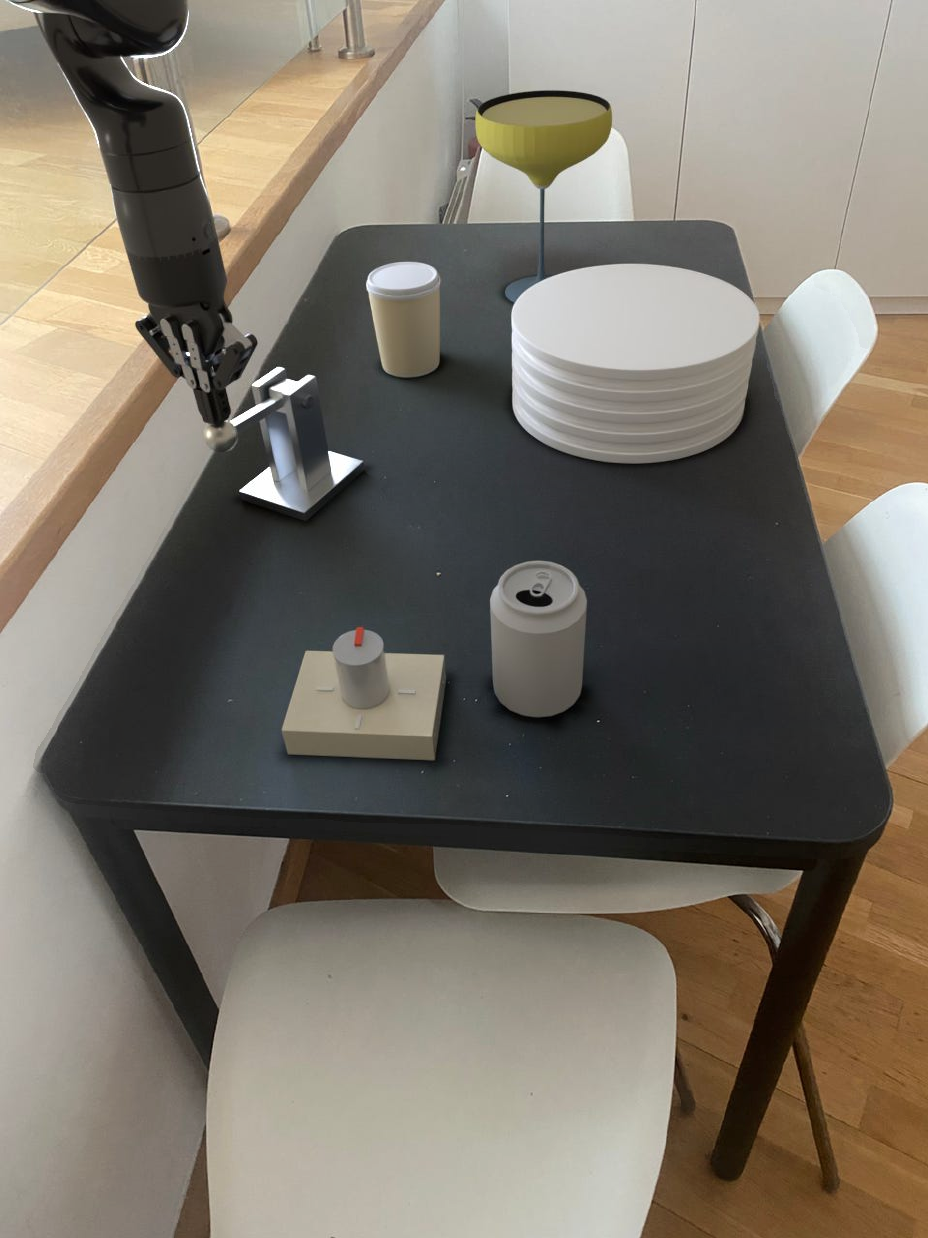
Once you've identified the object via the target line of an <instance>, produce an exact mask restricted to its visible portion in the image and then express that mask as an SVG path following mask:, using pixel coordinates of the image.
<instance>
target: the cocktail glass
mask: <svg viewBox="0 0 928 1238" xmlns="http://www.w3.org/2000/svg"><path fill="white" fill-rule="evenodd" d="M474 124H475V125H474V127H475V136H476V140H477V142H478V144H479V145H480V147H481V148H482V149H483V150H484V151H485V152H486V153H487V154H488V155H489V156H490V157H492V158H493V159H495V160H496V161H499V162H501V163H503V164H504V165H507V166H508V167H511V168H513V169H515V170H518V171H519V172H521V173H523V174H524V175H526V176H527V177H528V179H529V180H530V182H531V183H532V184H533V186H534V187H535V188H536V189H538V190H539V239H538V241H539V242H538V247H539V248H538V264H537V265H538V266H537V272H536V273H537V274H536V275H535V276H528V277H524V278H520V279H517V280H515V281H512V282H511V283H509V284H508V285H507V286H506V288H505V291H504V294H505V297H506V298H507V299H508V300H509V301H510V302H512V303H513V304H515V302H516V301H517V299H518V298H519V297H520V296H521V295H522V294H523V293H524V292H525V291H526V290H527V289H529V288H530V287H532V286H533V285H535V284H537V283H539V282H541V281H543V280H545V279H547V278H549V277H552V276H551V275H546V269H545V268H546V267H545V265H546V264H545V199H546V198H545V196H546V195H545V194H546V193H545V191H546V189H548V188H549V187H550V186H551V185H552V184H553V183H554V181H555V180H556V178H557V177H558V176H559V174H561V173H562V172H564V171H566V170H567V169H569V168H571V167H573V166H575V165H578V164H579V163H581V162H583V161H585V160H586V159H588V158H590V157H591V156H593V155H595V154H596V153H597V152H598V151H599V150H601V148H603V146H604V145H605V144H606V143H607V142H608V140H609V138H610V134H611V131H612V126H613V111H612V106H611V103H609V100H606V99H605V98H603V97H601V96H599V95H595V94H592V93H587V92H581V91H575V90H563V89H562V90H560V89H559V90H558V89H549V90H548V89H546V90H543V89H542V90H528V91H519V92H513V93H507V94H503V95H499V96H496V97H493V98H491V99H488V100H486V101H484V102H482V103H481V104H480V105H479V106H478V107H477V109H476V112H475V123H474Z"/></svg>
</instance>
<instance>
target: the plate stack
mask: <svg viewBox="0 0 928 1238" xmlns="http://www.w3.org/2000/svg"><path fill="white" fill-rule="evenodd" d="M510 316H511V317H510V318H511V350H512V351H511V369H512V371H511V386H512V393H511V395H512V396H511V403H512V411H513V414H514V416H515V418H516V420H517V422H518V424H520V426H521V427H522V428H523V429H524V430H525V431H526V432H527V434H529V435H531V436H532V437H533V438H535V439H536V440H538V441H539V442H541V443H542V444H544V445H546V446H548V447H550V448H553V449H555V450H557V451H560V452H562V453H565V454H568V455H571V456H574V457H578V458H582V459H587V460H592V461H596V462H597V461H598V462H603V463H614V464H653V463H662V462H663V463H664V462H669V461H675V460H680V459H684V458H687V457H692V456H694V455H697V454H700V453H703V452H705V451H707V450H709V449H712V448H714V447H715V446H718V445H720V444H721V443H722V442H724V441H725V440H727V438H729V437H730V436H731V435H732V434H733V433H734V432H735V431H736V429H737V428H738V426H739V425H740V423H741V421H742V419H743V417H744V411H745V407H746V406H745V404H746V398H747V393H748V390H749V381H750V376H751V372H752V367H753V358H754V355H755V350H756V344H757V336H758V334H759V328H760V321H761V320H760V319H761V317H760V312H759V309H758V307H757V306H756V304H755V303H754V301H753V299H751V297H750V296H748V295H747V294H746V293H745V292H744V291H742V290H741V289H739V288H738V287H736V286H734V285H733V284H731V283H729V282H727V281H725V280H723V279H720V278H718V277H715V276H713V275H712V276H711V275H709V274H707V273H703V272H699V271H696V270H692V269H687V268H683V267H676V266H670V265H663V264H662V265H661V264H650V263H649V264H648V263H613V264H603V265H594V266H586V267H582V268H575V269H572V270H568V271H564V272H561V273H558V274H555V275H552V276H551V277H549V278H547V279H545V280H543V281H541V282H539V283H537V284H535V285H533V286H532V287H530V288H529V289H527V290H526V291H525V292H524V293H523V294H522V295H521V296H520V297H519V298H518V299H517V301H516V302H515V303H513V306H512V309H511V315H510Z"/></svg>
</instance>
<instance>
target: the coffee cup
mask: <svg viewBox="0 0 928 1238" xmlns="http://www.w3.org/2000/svg"><path fill="white" fill-rule="evenodd" d="M365 283H366V284H365V285H366V286H365V287H366V291H367V292H368V298H369V303H370V309H371V314H372V321H373V327H374V330H375V331H374V332H375V336H376V341H377V347H378V352H379V357H380V362H381V366H382V369H383V371H385V373H386V374H388V375H391V376H394V377H397V378H418V377H421V376H425V375H428V374H430V373H432V372H434V371H435V370H436V369H437V368H438V366H439V365H440V357H441V355H440V353H441V351H440V350H441V344H440V343H441V324H440V323H441V297H440V295H441V294H440V291H441V290H440V286H441V276H440V274H439V273H438V270H437V269H436V268H435V267H433V266H432V265H430V264H427V263H423V262H418V261H399V262H392V263H391V262H390V263H387V264H384V265H382V266H379V267H376V268H374V269H372V271H371V272H370V273H369V274H368V276H367V280H366V282H365Z"/></svg>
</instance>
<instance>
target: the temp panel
mask: <svg viewBox="0 0 928 1238" xmlns="http://www.w3.org/2000/svg"><path fill="white" fill-rule="evenodd" d="M385 657H386V664H387V671H388V678H389V684H390V692H389V695H388V696H387V698H386V699H385V700H384V701H383V702H382V703H381V704H379V705H377V706H375V707H372V708H367V709H359V708H354V707H351V706H349V705H348V704H346V703H345V702H344V700H343V699H342V696H341V692H340V687H339V682H338V677H337V672H336V667H335V662H334V657H333V651H331V650H327V651H326V650H305V652H304V655H303V658H302V662H301V665H300V668H299V672H298V675H297V679H296V682H295V684H294V688H293V691H292V695H291V698H290V701H289V704H288V708H287V711H286V714H285V717H284V721H283V723H282V727H281V734H282V738H283V742H284V745H285V749H286V752H287V755H292V756H293V755H296V756H316V757H317V756H318V757H319V756H320V757H341V758H342V757H345V758H366V759H387V760H391V759H393V760H415V761H417V760H418V761H435V760H436V755H437V754H436V753H437V747H438V742H439V741H438V740H439V733H440V727H441V719H442V713H443V706H444V698H445V692H446V684H447V672H446V671H447V670H446V660H445V654H429V653H428V654H426V653H425V654H424V653H397V652H394V653H393V652H385Z"/></svg>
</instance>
